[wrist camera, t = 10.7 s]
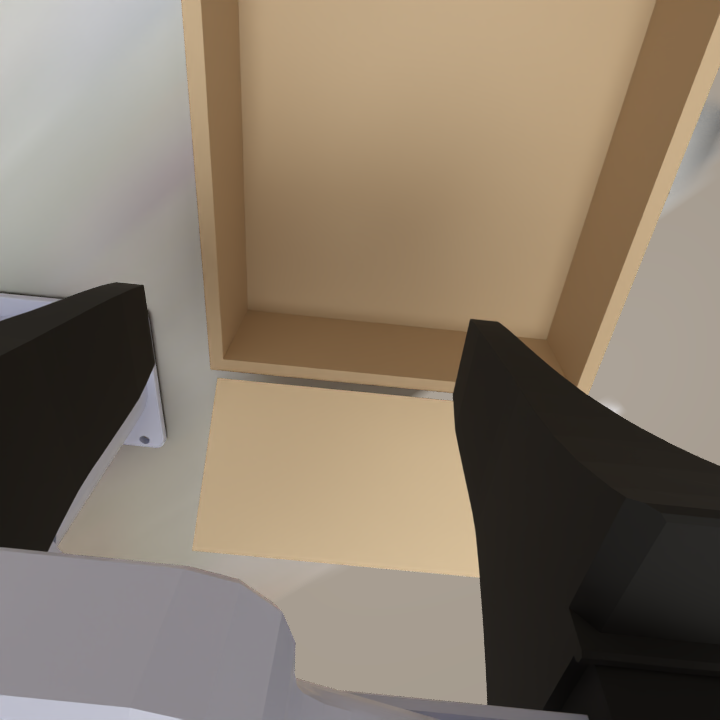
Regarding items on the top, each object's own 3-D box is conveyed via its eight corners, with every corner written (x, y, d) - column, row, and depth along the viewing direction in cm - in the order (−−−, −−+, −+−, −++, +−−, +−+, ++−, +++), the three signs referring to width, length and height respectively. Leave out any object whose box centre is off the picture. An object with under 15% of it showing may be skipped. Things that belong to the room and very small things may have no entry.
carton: (239, 313, 23) (210, 369, 19) (218, -193, 15) (159, -272, 11) (551, 344, 23) (583, 405, 19) (712, -139, 15) (825, -200, 11)
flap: (217, 377, 19) (219, 379, 19) (191, 550, 18) (195, 548, 18) (577, 413, 19) (572, 414, 19) (574, 586, 18) (569, 583, 18)
